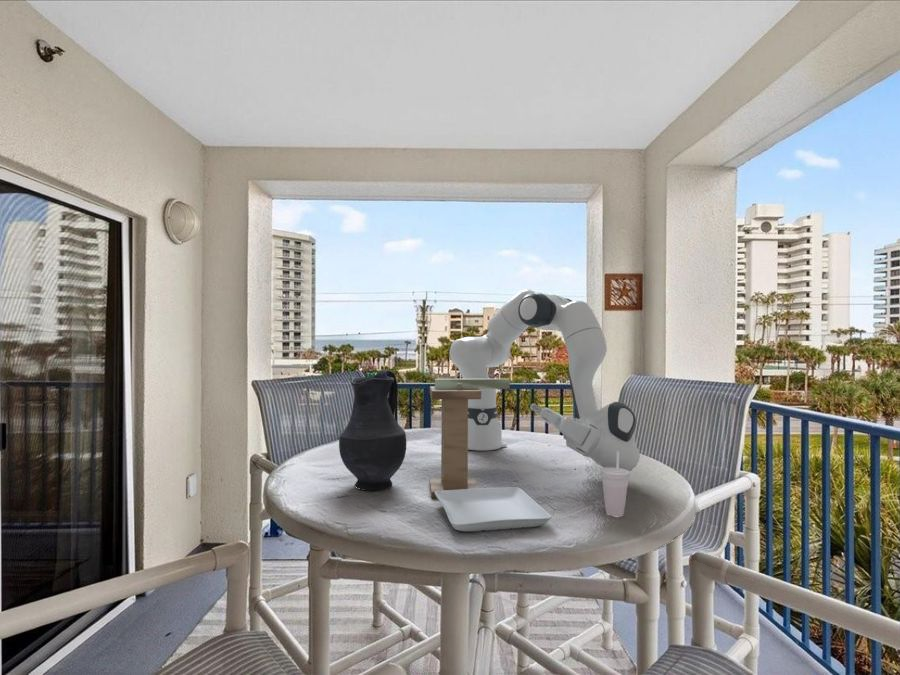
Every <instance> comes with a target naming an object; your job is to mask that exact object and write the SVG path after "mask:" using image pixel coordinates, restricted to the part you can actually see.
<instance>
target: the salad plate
mask: <svg viewBox="0 0 900 675" xmlns="http://www.w3.org/2000/svg"><path fill="white" fill-rule="evenodd" d="M435 495H436V497H437V498H436V499H437V500H438V501H439V503H440V504H441V506H442V507H443V509H444V510H445V514H446V517H447V519H448V521H449V522H450V525H451V527H453V529H455V530H457V531H460V532H482V531H481V530H486V531H497V530H498V531H499V529H500V530H508V529H510V530H511V528H512V529H522V527H524V528H530V527H531V528H532V527H538V526H542V525H544V524H546V523H548V522H549V521H550V520H551V519H552V515H551V514H550V513H548V511H547V510H545V509H544V508H543V507H542V506H541V505H540V504H539V503H537V502H536V500H534V499H533V498H532V497H530V495H529V494H527V493H526V492H525V491H524V490H523V489H522V488H520V487H518V486H515V487H509V486H507V487H479V488H477V489H459V490H443V491H435Z"/></svg>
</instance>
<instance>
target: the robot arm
mask: <svg viewBox="0 0 900 675" xmlns="http://www.w3.org/2000/svg"><path fill="white" fill-rule="evenodd" d="M529 327H531V328H536V329H539V330H544V331H557V332H560V333H561V336H562V339H563V341H564V345H565V348H566V352H567V359H568V379H569V380H568V381H569V386H570V390H571V395H572V399H573V404H574V409H575V413H576V417H574V418H572V419H571V418H568V417H566V416H565V415H563V414H561V413H559V412H557V411H555V410H553V409H551V408H549V407H544V408H543V407H541V406H539V405H538V404H535V403H532V404H531V405H530V407H529V409H530V410H531V411H532V412H534V413H536V414H537V415H538V416H539V419H540V420H541V421H543V422H545V423H546V424H548V425H550V426H551V427H553V428H555V429H556V430H557V431H559V432H560V433H562V434H563V440H565V444H566V446H567V447H568V448H570V449H571V450H572V451H574V452H577V453H578V454H580V455H581V456H583V457H585V458H586V457H587V458H590V459H591V460H592V461H593V462H594V463H596V464H597V465H598V466H600V467H602V468H608V467H614V468H616V456H617V451H619V468H622V469H625V470H628V471H629V472H631V471H633V469H634V468H636V466H637V465H638V463H639V461H640V456H641V455H640V454H641V453H640V450H639V449H638V447H637V444H636V435H635V432H636V431H635V430H636V427H637V417H636V415H635V413H634V411H633V410H632V409H631V408H630V407H629V406H628V405H626V404H625V403H623V402H620V401H613V402H611V403H609V404H607V405H605V406H603V407H601V408H599V409H598V407H597V402H596V397H595V393H594V389H593V381H594V377H595V374H596V372H597V371H598V368H599V367H600V366H601V364H602V362H603V361H604V359H605V358H606V354H607V352H608V351H607V350H608V349H607V341H606V338H605V335H604V333H603V330H602V328H601V325H600V323H599V320H598V318H597V317H596V315H595V313H594V311H593V310H592V308H591V307H590V305H589V304H588V303H587V302H586V301H583V300H572V299H569V298H565V297H562V296H560V295H557V294H548V293H542V292H536V291H533V290H531V289H527V288H526V289H521V290H520V291H518V292H517V293H515V294H514V295H513V296H511V298H510V299H508V300H507V301H506V302H505V303H504V304H503V305H502V306H501V307H500V308H499V309H498V310H497V311H496V312H495V314H494V315H492V317H491V318H490V319H489V321H488V322H487V328H488V330H487V333H486V334H484V335H482V336H465V337H461V338H459V339H456V340H454V341H453V342H452V343H451V344H450V345H451V346H450V348H449V357H450V360H451V362H452V363H453V365H454V366H456V368H458V371H459V373H460V375H461V379H491V378H490V377H489V373H488V371H487V368H495V367H499V366H501V365H503V364H505V363H506V362H508V361H509V359H510V357H511V346H512V345H513V343H514V342H515V341H516V340H518V338H519V337H520V336H521V335H522V334H524V332H525V331H526V330H527V329H528V328H529ZM479 390H481V399H468V450H470V451H493V450H498V449H501V448H505V447H507V442H504V441H503V435H502V434H503V433H502V432H503V431H502V423H501V422H500V421H499V419H498V418H497V417H498V407H497V389H479Z"/></svg>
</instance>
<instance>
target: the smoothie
mask: <svg viewBox="0 0 900 675" xmlns="http://www.w3.org/2000/svg"><path fill="white" fill-rule="evenodd" d="M599 474H600V476H601V482H602V483H601V484H602V489H603V490H602V491H603V497H604V499H603V500H604V506H605V514H606V513H607V514H609V515H614V516H620V515H623V514H625V507H626V499H627V492H628V487H629V486H628V485H629V479H630V478H631V471H628V470H625V469H622V468H619V451H617V456H616V468H614V467H608V468H604V467H602V468H600V471H599ZM607 514H606V515H607ZM623 516H624V515H623Z"/></svg>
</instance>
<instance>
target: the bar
mask: <svg viewBox="0 0 900 675" xmlns="http://www.w3.org/2000/svg"><path fill="white" fill-rule="evenodd" d="M510 382H511V381H510V378H490V379H463V378H434V386H435V389H457V384H458V383H461V384H462V389H496V390H506V389H507V390H509V389H510V386H511V383H510Z"/></svg>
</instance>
